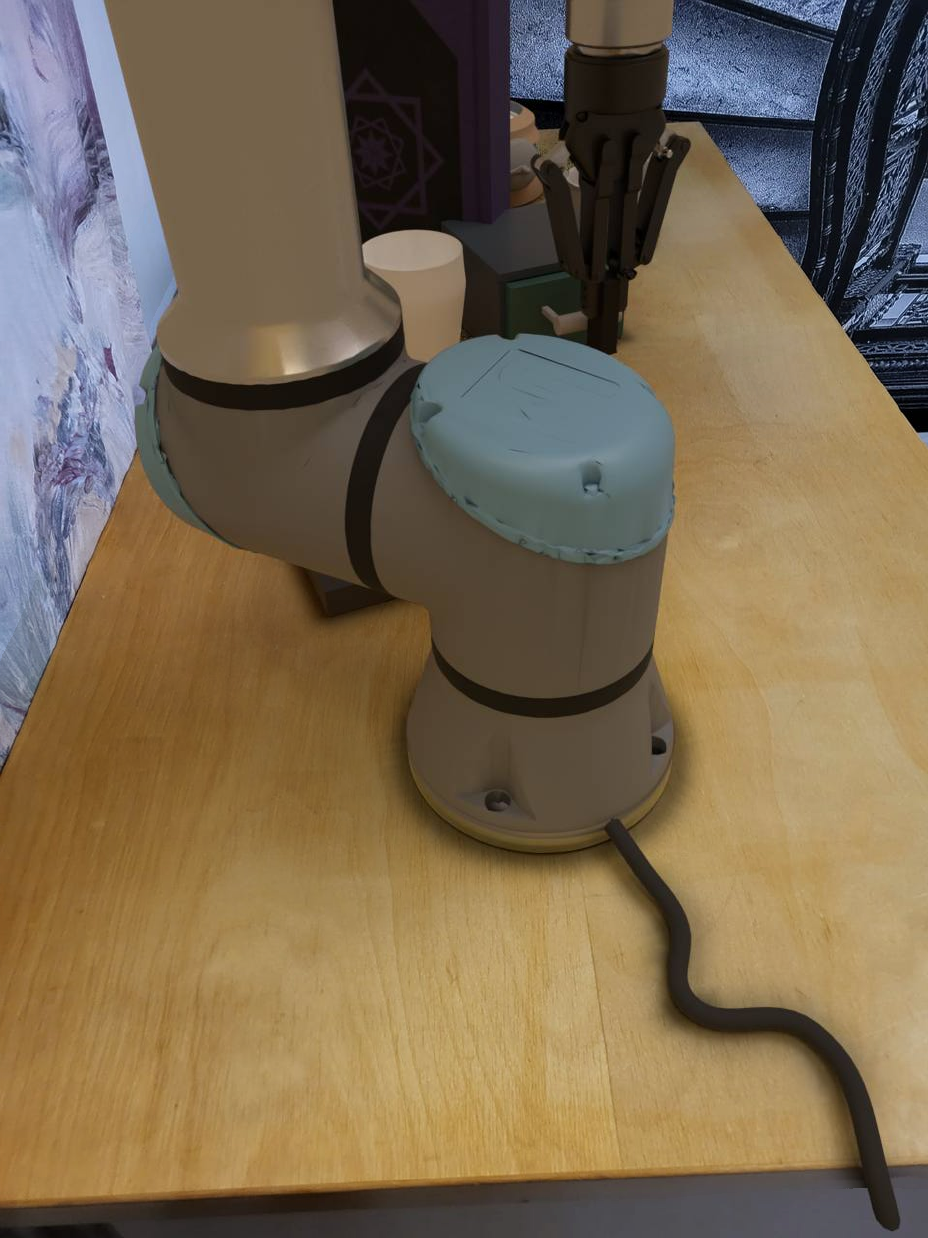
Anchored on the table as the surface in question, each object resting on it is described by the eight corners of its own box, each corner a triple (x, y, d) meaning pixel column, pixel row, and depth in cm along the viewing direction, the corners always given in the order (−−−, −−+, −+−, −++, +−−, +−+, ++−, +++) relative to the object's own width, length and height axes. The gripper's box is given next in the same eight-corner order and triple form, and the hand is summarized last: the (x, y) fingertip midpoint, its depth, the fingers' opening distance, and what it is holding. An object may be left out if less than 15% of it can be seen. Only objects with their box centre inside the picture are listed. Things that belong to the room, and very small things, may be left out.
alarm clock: (548, 89, 128) (542, 147, 111) (547, 165, 134) (541, 231, 117) (416, 91, 129) (389, 148, 112) (420, 166, 136) (396, 231, 119)
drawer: (646, 354, 92) (653, 281, 87) (531, 382, 89) (531, 307, 84) (563, 285, 104) (565, 217, 99) (458, 307, 101) (456, 238, 96)
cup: (457, 408, 88) (452, 274, 80) (358, 400, 89) (343, 268, 81) (477, 359, 94) (474, 231, 86) (384, 353, 96) (372, 226, 88)
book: (511, 292, 106) (511, -45, 86) (491, 317, 102) (486, -31, 82) (313, 265, 113) (270, -53, 93) (286, 288, 109) (235, -40, 89)
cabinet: (621, 338, 96) (628, 247, 91) (499, 366, 93) (498, 273, 87) (557, 284, 106) (560, 198, 100) (444, 308, 103) (440, 221, 97)
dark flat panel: (465, 577, 70) (463, 531, 68) (328, 617, 68) (321, 571, 65) (407, 489, 79) (403, 445, 76) (283, 521, 76) (274, 476, 73)
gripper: (669, 22, 76) (645, 316, 92) (512, 44, 73) (515, 346, 89) (724, 41, 71) (689, 350, 87) (558, 67, 68) (552, 383, 83)
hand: (601, 348), depth 88 cm, fingers closed
